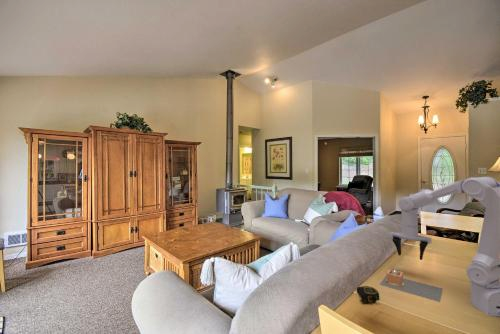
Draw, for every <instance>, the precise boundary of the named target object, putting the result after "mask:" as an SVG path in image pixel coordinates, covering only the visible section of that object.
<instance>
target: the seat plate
mask: <svg viewBox="0 0 500 334" xmlns="http://www.w3.org/2000/svg"><path fill="white" fill-rule="evenodd" d="M379 285H380V286H383V287H385V288H386V287H387V288H389V289H393V290H397V291H399V292H404V293H407V294H410V295H413V296H414V295H415V296H416V297H417V296H418V297H421V298H423V299H424V298H425V299H428V300H431V301H435V302H437V303H441V301H442V294H443V290H444V288H442V287H439V286H436V285H435V286H434V285H431V284H427V283H423V282H419V281H416V280H411V279H408V278H405V277H403V283H402V285H401V286H400V285H396V284H392V283H389V282H387V279H386V275H385V276H384V278H383V279H382V280H381V282H380V283H379Z"/></svg>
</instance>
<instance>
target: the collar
mask: <svg viewBox="0 0 500 334" xmlns="http://www.w3.org/2000/svg"><path fill="white" fill-rule="evenodd" d="M385 276H386V279H387V282H389V283H392V284H396V285H400V286H401V285H402V283H403V278H404V272H403V271H399V270H398V275H394V274H392V269H388V270H387V272H386V275H385Z"/></svg>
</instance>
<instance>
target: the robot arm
mask: <svg viewBox="0 0 500 334" xmlns="http://www.w3.org/2000/svg"><path fill="white" fill-rule="evenodd" d="M457 193H459V194H466V195H467V196H469V197H470V198H472V199H474V200H476V201H477V202H479V203H480V204H481V205H482V206H484V207H485V211H484V216H483V221H482V225H481V226H482V227H481V232H480V236H479V242H478V246H477V252H476V254H475V255H474V257H473V258H472V259H471V264H470V265H468V266H467V267H466V271H465V272H466V275H467V277H468V279H469V280H470V304H471V306H473V307H474V308H476V309H478V310H480V311H482V312H483V313H484V314H485V315H486V316H489V317H499V318H500V182H499V181H498V180H497V179H496V178H494V177H492V176H480V177H467V178H465V179H460V180H457V181H454V182H450V183H449V184H446V185H444V186H441V187H438V188H436V189H434V190H431V189H428V188H427V189H425V188H422V189H419V191H418V192H417V193H410V194H409V196H402V197H400V198H399V200H398V201H397V202H398V207H399V209H400V210H401V213H400V214H401V232H393V231H390V232H389V238H392V242H393V244H394V246H395V248H396V251H397V254H398V256H401V255H402V239H403V240H409V241H413V242H419V243H418V244H419V260H421V261H422V260H423V258H424V253H425V250H426V248H427V246H428V245H429V244H430V245H431V244H432V237H428V236H424V235H419V221H418V220H419V219H418V218H419V217H418V215H419V214H418V213H419V209H420V208H423V207H427V206H429V205H433V204H435V203H436V202H437V200H438V199H440V198H442V197H447V196H450V195H454V194H457Z"/></svg>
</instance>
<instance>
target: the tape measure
mask: <svg viewBox="0 0 500 334" xmlns="http://www.w3.org/2000/svg"><path fill="white" fill-rule="evenodd" d="M356 293H357V294H358V295H359V297H360V300H361V302H362V303H365V304H367V303H371V304H373V303H374V304H376V302H377V301H379V300H380V293H379V291H378V289H376V288H374V287H373V286H369V285H365V286H357V287H356Z"/></svg>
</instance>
